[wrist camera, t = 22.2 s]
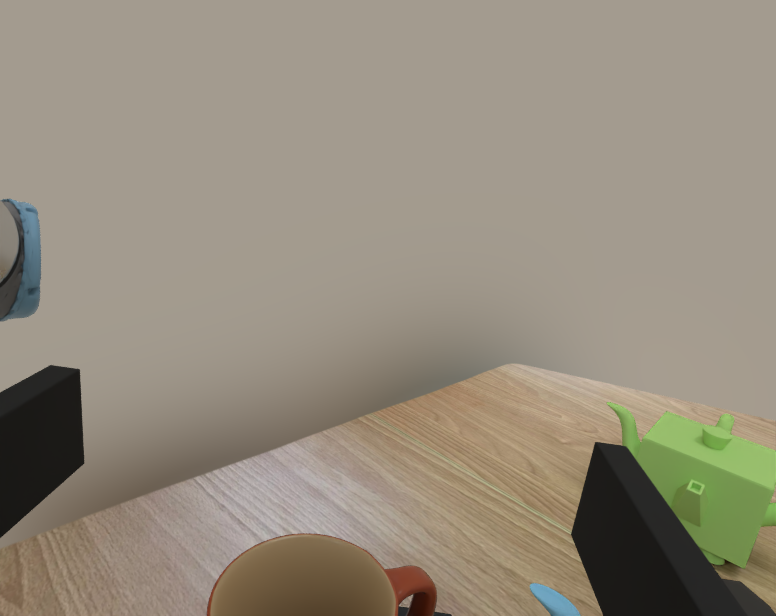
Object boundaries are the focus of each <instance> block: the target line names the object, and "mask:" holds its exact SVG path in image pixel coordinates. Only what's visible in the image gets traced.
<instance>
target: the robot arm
mask: <svg viewBox="0 0 776 616" xmlns="http://www.w3.org/2000/svg"><path fill="white" fill-rule="evenodd" d="M40 248H41V245H40V225H39V219H38V212H37V210H36V208H35V207H34V206H33V205H31V204H29V203H25V202H17V201H15V200H12V199H3V200H0V321H6V320H8V319H13V318H24V317H28V316H30V315H32V314H34V313H35V312H36V310H37V308H38V306H39V300H40V279H41V249H40ZM80 387H81V385H80V370H79V369H74V368H67V367H59V366H53V365H50V366H48V367H46V368H44V369H43V370H41V371H39V372H37V373H35V374H34V375H32V376H30V377H28V378H26V379H24V380H22V381H21V382H19V383H17V384H15V385H13V386H11V387H10V388H8V389H6V390H4V391H2V392H1V393H0V538H1V537H2V536H3V535H4V534H5V533H6V532H8V531H9V530H10V529H11V528H12V527H13V526H14V525H15V524H17V523H18V522H19V521H20V520H21V519H22V518H23V517H24V516H26V515H27V514H28V513H29V512H30V511H31V510H32V509H33V508H34V507H36V506H37V505H38V504H39V503H40V502H41V501H42V500H44V499H45V498H46V497H47V496H48V495H49V494H50V493H51V492H52V491H54V490H55V489H56V488H57V487H58V486H59V485H60V484H62V483H63V482H64V481H65V480H66V479H67V478H68V477H69V476H71V475H72V474H73V473H74V472H75V471H76V470H77V469H78V468H79V467H81V466H82V465H83V464H84V448H83V427H82V407H81V388H80ZM571 535H572V538H573V541H574V543H575V546H576V548H577V551H578V553H579V556H580V558H581V561H582V563H583V566H584V568H585V571H586V573H587V576H588V578H589V581H590V583H591V586H592V588H593V591H594V593H595V596H596V598H597V601H598V603H599V606H600V608H601V611H602V613H603V616H776V614H775V613H774V611H773V610H772V609H771V607H770V606H769V605H768V604H766V603H765V602H764V601H763V600H762V599H761V598H759V597H758V596H757V595H756V594H755V593H753V592H752V591H751V590H750V589H749V588H747V587H746V586H745V585H744V584H743V583H742V582H740V581H733V580H726V579H721V577H720V576H719V575H718V573H717V572H716V570H715V569H714V568H713V566H712V565H711V564H710V562H709V561H708V559H707V558H706V557H705V555H704V554H703V552H702V551H701V550H700V548H699V547H698V545H697V544H696V543H695V541H694V540H693V538H692V537H691V536H690V534H689V533H688V531H687V530H686V529H685V527H684V526H683V524H682V523H681V522H680V520H679V519H678V517H677V516H676V515H675V513H674V512H673V510H672V509H671V508H670V506H669V505H668V504H667V502H666V501H665V499H664V498H663V497H662V495H661V494H660V492H659V491H658V490H657V488H656V487H655V485H654V484H653V483H652V481H651V480H650V478H649V477H648V476H647V474H646V473H645V471H644V470H643V469H642V467H641V466H640V464H639V463H638V462H637V460H636V459H635V457H634V456H633V455H632V453H631V452H630V451H629V449H628V448H627V446H621V445H614V444H607V443H600V442H595V445H594V449H593V453H592V457H591V461H590V465H589V468H588V472H587V476H586V480H585V484H584V487H583V491H582V495H581V499H580V503H579V506H578V510H577V514H576V518H575V522H574V526H573V529H572V533H571Z"/></svg>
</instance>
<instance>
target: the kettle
mask: <svg viewBox="0 0 776 616" xmlns="http://www.w3.org/2000/svg"><path fill="white" fill-rule="evenodd" d="M607 404H608V405H609V406H610V407H611V408H612V409H613V410H614V411H615V413H616V414H617V415H618V417H619V419H620V422H621V426H622V444H623V446H627V448H628V449H629V451H630V452H631V453H632V455H633V456H634V457H635V459H636V460H637V462H638V463H639V464H640V466H641V467H642V469H643V470H644V471H645V473H646V474H647V476H648V477H649V478H650V480H651V481H652V483H653V484H654V485H655V487H656V488H657V490H658V491H659V492H660V494H661V495H662V497H663V498H664V499H665V501H666V502H667V504H668V505H669V506H670V508H671V509H672V510H673V512H674V513H675V515H676V516H677V517H678V519H679V520H680V522H681V523H682V524H683V526H684V527H685V529H686V530H687V531H688V533H689V534H690V536H691V537H692V538H693V540H694V541H695V543H696V544H697V545H698V547H699V548H700V550H701V551H702V552H703V554H704V555H705V557H706V558H707V559H708V561H709V562H710V563H712V564H716V565H723V564H724V563H725V561H724V559H725V560H727V561H729V562H731V563H733V564H735V565H737V566H739V567H741V568H743V569H745V566H746V564H747V561H748V559H749V556H750V553H751V551H752V548H753V545H754V543H755V540H756V538H757V535H758V532H759V530H760V527H764V526H776V503H770V501H771V498H772V496H773V493H774V490H775V485H776V451H775V450H772V449H770V448H767V447H764V446H762V445H759V444H756V443H753V442H751V441H748V440H745V439H742V438H740V437H737V436H734V435H732V434H731V430H732V427H733V424H734V417H733V416H731V415H729V414H723V415H722V416H721V417H720V419H719V421H718V423H717V425H716V426H712V425H704V424H701V423H698V422H696V421H693V420H690V419H687V418H684V417H682V416H679V415H676V414H673V413H670V412H667V411H666V412H665V413H664V415H663V416H662V417H661V418H660V419H659V420H658V421H657V423H656V424H655V425H654V426H653V427H652V428H651V429H650V430H649V432H648V433H647V434H646V435H645V436H644V437H643V438H642V442H640V440H639V438H638V435H637V429H636V423H635V420H634V417H633V416H632V414H631V413H630V412H629V411H628V410H627V409H626V408H624V407H622V406H620V405H617V404H614V403H611V402H607Z"/></svg>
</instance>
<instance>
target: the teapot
mask: <svg viewBox="0 0 776 616" xmlns="http://www.w3.org/2000/svg"><path fill="white" fill-rule="evenodd" d="M530 590H531V592H532V593H533V595H534V596H535V597H536V598H537V599H538V600H539V601H540V602H541V603H542V605H543V606H544V607H545V608H546V609H547V610H548V612H549V613H550V614H551V616H581V615H580V614H579V612H578V610H577V609H576V607H575V606H574V605H573V604H572V603H571V602H570V601H569V600H568V599H566V598H565V597H564V596H562V595H561V594H559V593H558V592H556V591H554V590H553V589H551V588H549V587H546V586H544V585H541V584H536V583H533V584H531V585H530Z"/></svg>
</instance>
